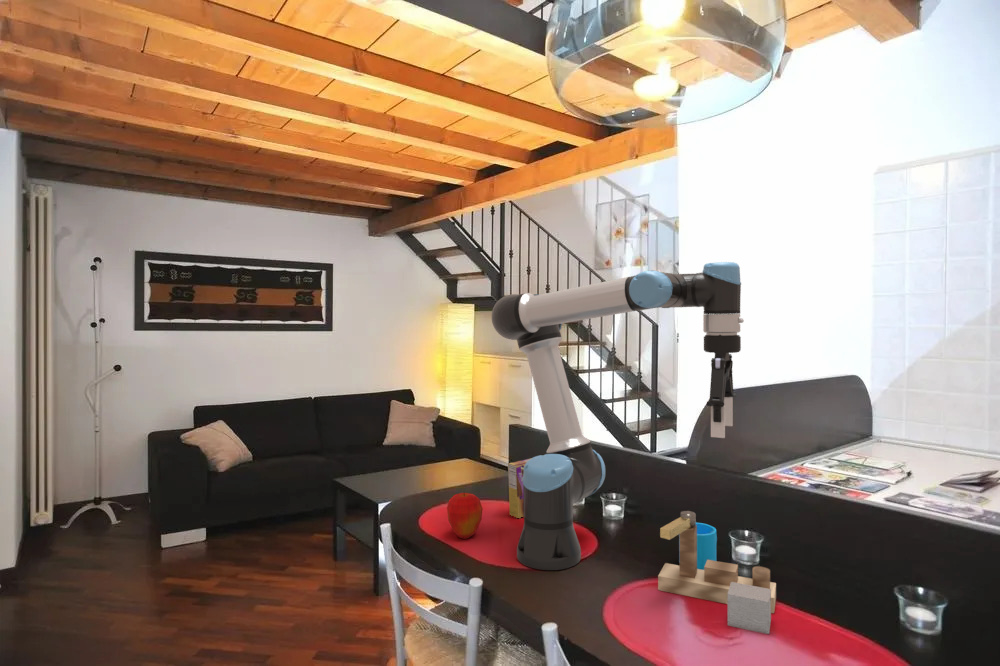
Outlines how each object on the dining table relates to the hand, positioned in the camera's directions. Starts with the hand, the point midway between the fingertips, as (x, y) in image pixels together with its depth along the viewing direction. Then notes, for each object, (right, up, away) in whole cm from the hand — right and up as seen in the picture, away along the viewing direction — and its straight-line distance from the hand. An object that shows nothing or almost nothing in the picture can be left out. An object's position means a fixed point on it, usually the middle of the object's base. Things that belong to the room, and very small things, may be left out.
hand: (722, 431), depth 130 cm
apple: (-58, -32, +26) cm, 71 cm away
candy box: (-41, -31, +42) cm, 67 cm away
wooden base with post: (-4, -32, -8) cm, 33 cm away
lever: (-12, -19, -9) cm, 24 cm away
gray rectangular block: (-2, -33, -19) cm, 38 cm away
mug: (-2, -32, +8) cm, 33 cm away
